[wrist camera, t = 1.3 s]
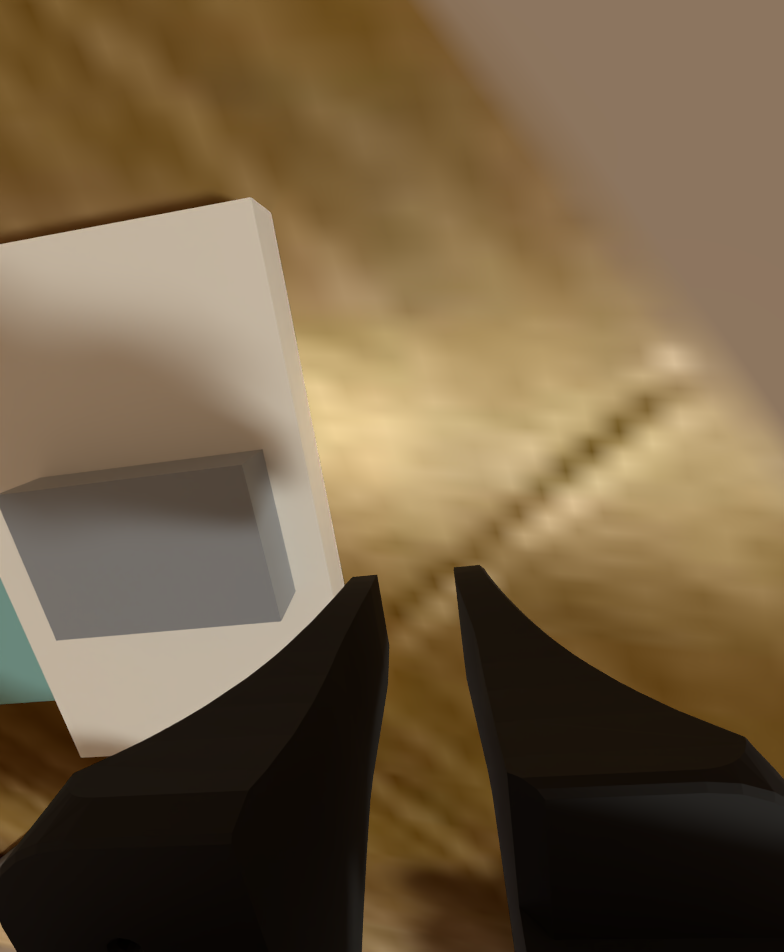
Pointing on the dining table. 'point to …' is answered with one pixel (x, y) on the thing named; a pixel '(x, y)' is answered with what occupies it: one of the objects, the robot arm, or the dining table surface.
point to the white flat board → (157, 432)
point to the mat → (18, 660)
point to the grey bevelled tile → (153, 546)
